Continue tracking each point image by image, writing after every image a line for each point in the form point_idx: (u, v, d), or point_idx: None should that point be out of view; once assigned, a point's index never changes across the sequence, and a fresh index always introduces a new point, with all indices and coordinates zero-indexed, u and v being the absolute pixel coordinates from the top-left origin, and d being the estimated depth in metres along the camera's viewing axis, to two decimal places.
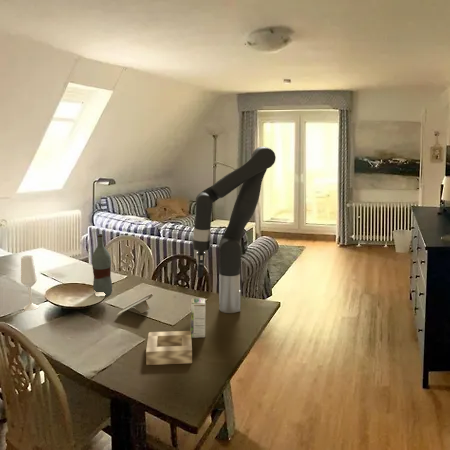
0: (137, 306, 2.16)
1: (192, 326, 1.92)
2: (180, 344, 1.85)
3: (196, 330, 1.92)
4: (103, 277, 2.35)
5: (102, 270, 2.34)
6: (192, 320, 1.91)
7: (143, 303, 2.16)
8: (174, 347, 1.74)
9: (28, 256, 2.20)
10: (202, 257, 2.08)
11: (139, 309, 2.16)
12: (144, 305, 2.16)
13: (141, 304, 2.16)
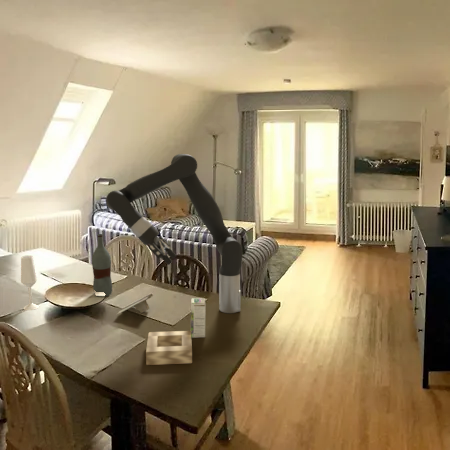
0: (137, 306, 2.16)
1: (192, 326, 1.92)
2: (180, 344, 1.85)
3: (196, 330, 1.92)
4: (103, 277, 2.35)
5: (102, 270, 2.34)
6: (192, 320, 1.91)
7: (143, 303, 2.16)
8: (174, 347, 1.74)
9: (28, 256, 2.20)
10: (152, 246, 1.88)
11: (139, 309, 2.16)
12: (144, 305, 2.16)
13: (141, 304, 2.16)
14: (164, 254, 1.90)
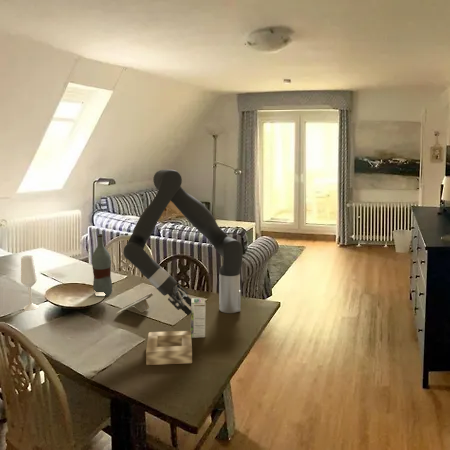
0: (137, 305, 2.17)
1: (192, 326, 1.92)
2: (180, 344, 1.85)
3: (196, 330, 1.92)
4: (103, 277, 2.35)
5: (102, 270, 2.34)
6: (192, 320, 1.91)
7: (143, 302, 2.16)
8: (174, 347, 1.74)
9: (28, 256, 2.20)
10: (171, 298, 1.86)
11: (139, 308, 2.17)
12: (144, 304, 2.16)
13: (141, 303, 2.16)
14: (183, 305, 1.88)
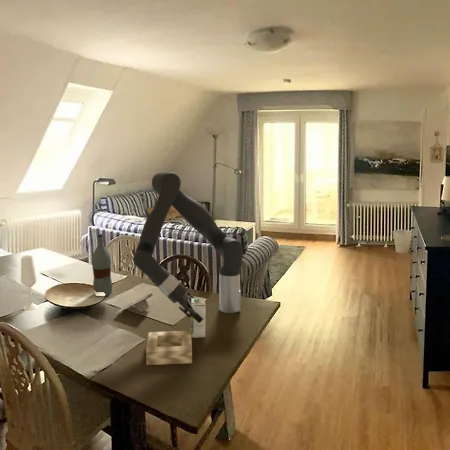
0: (137, 305, 2.17)
1: (192, 326, 1.92)
2: (180, 344, 1.85)
3: (196, 330, 1.92)
4: (103, 277, 2.35)
5: (102, 270, 2.34)
6: (192, 320, 1.91)
7: (143, 302, 2.17)
8: (174, 347, 1.74)
9: (28, 256, 2.20)
10: (183, 306, 1.86)
11: (139, 308, 2.17)
12: (144, 304, 2.17)
13: (141, 303, 2.17)
14: (195, 313, 1.89)
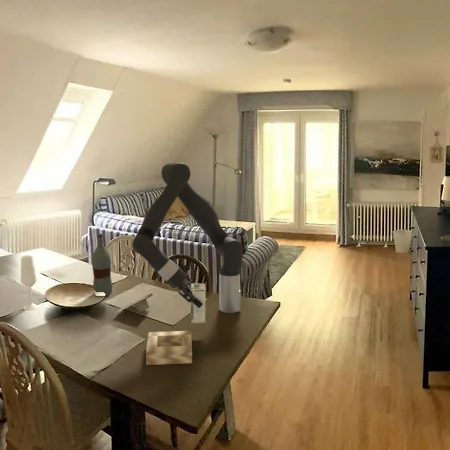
0: (137, 305, 2.17)
1: (192, 311, 1.90)
2: (180, 344, 1.85)
3: (196, 316, 1.91)
4: (103, 277, 2.35)
5: (102, 270, 2.34)
6: (192, 305, 1.90)
7: (143, 302, 2.17)
8: (174, 347, 1.74)
9: (28, 256, 2.20)
10: (182, 291, 1.85)
11: (139, 308, 2.17)
12: (144, 304, 2.17)
13: (141, 303, 2.17)
14: (195, 298, 1.88)
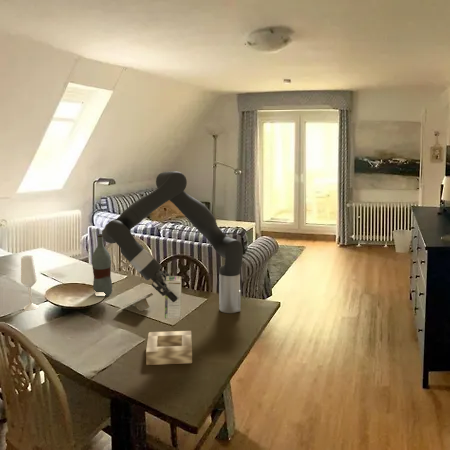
0: (137, 304, 2.18)
1: (166, 306, 1.76)
2: (180, 344, 1.85)
3: (171, 311, 1.77)
4: (103, 277, 2.35)
5: (102, 270, 2.34)
6: (166, 299, 1.76)
7: (143, 301, 2.17)
8: (174, 347, 1.74)
9: (28, 256, 2.20)
10: (156, 283, 1.71)
11: (139, 307, 2.18)
12: (144, 303, 2.17)
13: (141, 302, 2.17)
14: (169, 291, 1.74)
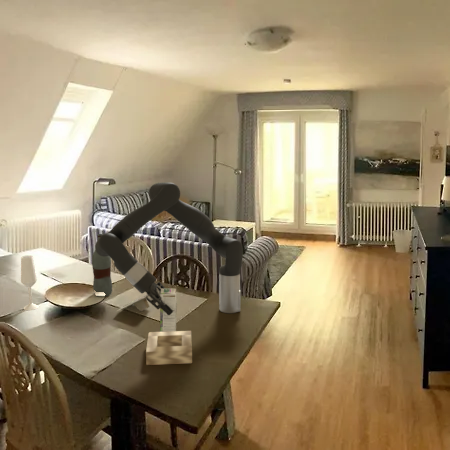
0: (137, 304, 2.18)
1: (161, 319, 1.74)
2: (180, 344, 1.85)
3: (166, 324, 1.75)
4: (103, 277, 2.35)
5: (102, 270, 2.34)
6: (161, 312, 1.73)
7: (143, 301, 2.18)
8: (174, 347, 1.74)
9: (28, 256, 2.20)
10: (150, 297, 1.69)
11: (139, 307, 2.18)
12: (143, 303, 2.18)
13: (141, 302, 2.18)
14: (164, 304, 1.71)
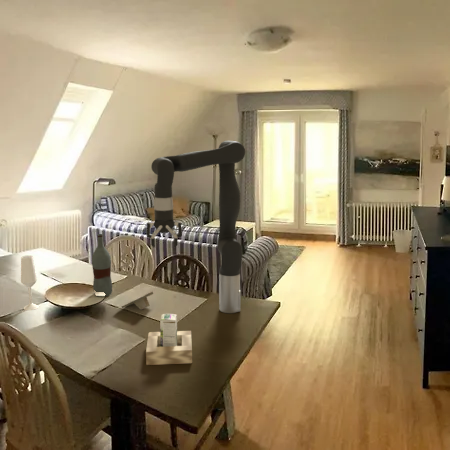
0: (137, 302, 2.20)
1: (161, 344, 1.76)
2: (180, 344, 1.85)
3: None
4: (103, 277, 2.35)
5: (102, 270, 2.34)
6: (161, 338, 1.76)
7: (143, 300, 2.19)
8: (174, 347, 1.74)
9: (28, 256, 2.20)
10: (147, 224, 1.97)
11: (139, 305, 2.20)
12: (143, 302, 2.19)
13: (141, 301, 2.19)
14: (151, 237, 1.98)
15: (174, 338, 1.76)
